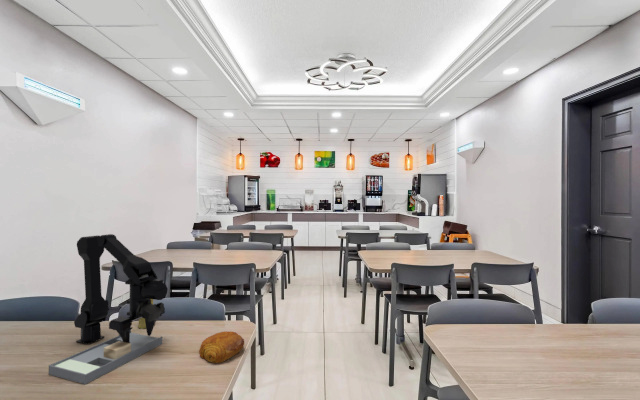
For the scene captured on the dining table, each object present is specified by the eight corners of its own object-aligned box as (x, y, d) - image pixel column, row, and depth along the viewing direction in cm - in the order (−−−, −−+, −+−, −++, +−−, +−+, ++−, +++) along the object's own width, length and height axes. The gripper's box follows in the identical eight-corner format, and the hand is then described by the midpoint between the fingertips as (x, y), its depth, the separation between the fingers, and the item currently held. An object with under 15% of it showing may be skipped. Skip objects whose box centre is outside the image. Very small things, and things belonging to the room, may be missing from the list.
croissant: (250, 354, 118) (253, 332, 119) (220, 368, 104) (223, 342, 105) (220, 345, 124) (222, 324, 125) (188, 357, 110) (191, 333, 111)
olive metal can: (147, 329, 135) (147, 295, 135) (134, 328, 136) (134, 294, 136) (157, 323, 141) (157, 290, 141) (144, 322, 142) (145, 290, 142)
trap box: (48, 374, 100) (48, 365, 100) (130, 337, 127) (130, 330, 127) (85, 384, 95) (85, 375, 95) (162, 343, 121) (162, 336, 121)
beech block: (103, 356, 107) (103, 347, 107) (118, 349, 112) (118, 341, 112) (115, 359, 105) (115, 350, 105) (130, 352, 110) (130, 343, 110)
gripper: (132, 307, 105) (132, 356, 105) (176, 292, 123) (176, 333, 123) (107, 303, 109) (107, 350, 109) (153, 289, 126) (153, 329, 126)
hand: (138, 340), depth 116 cm, fingers open, 9 cm apart
